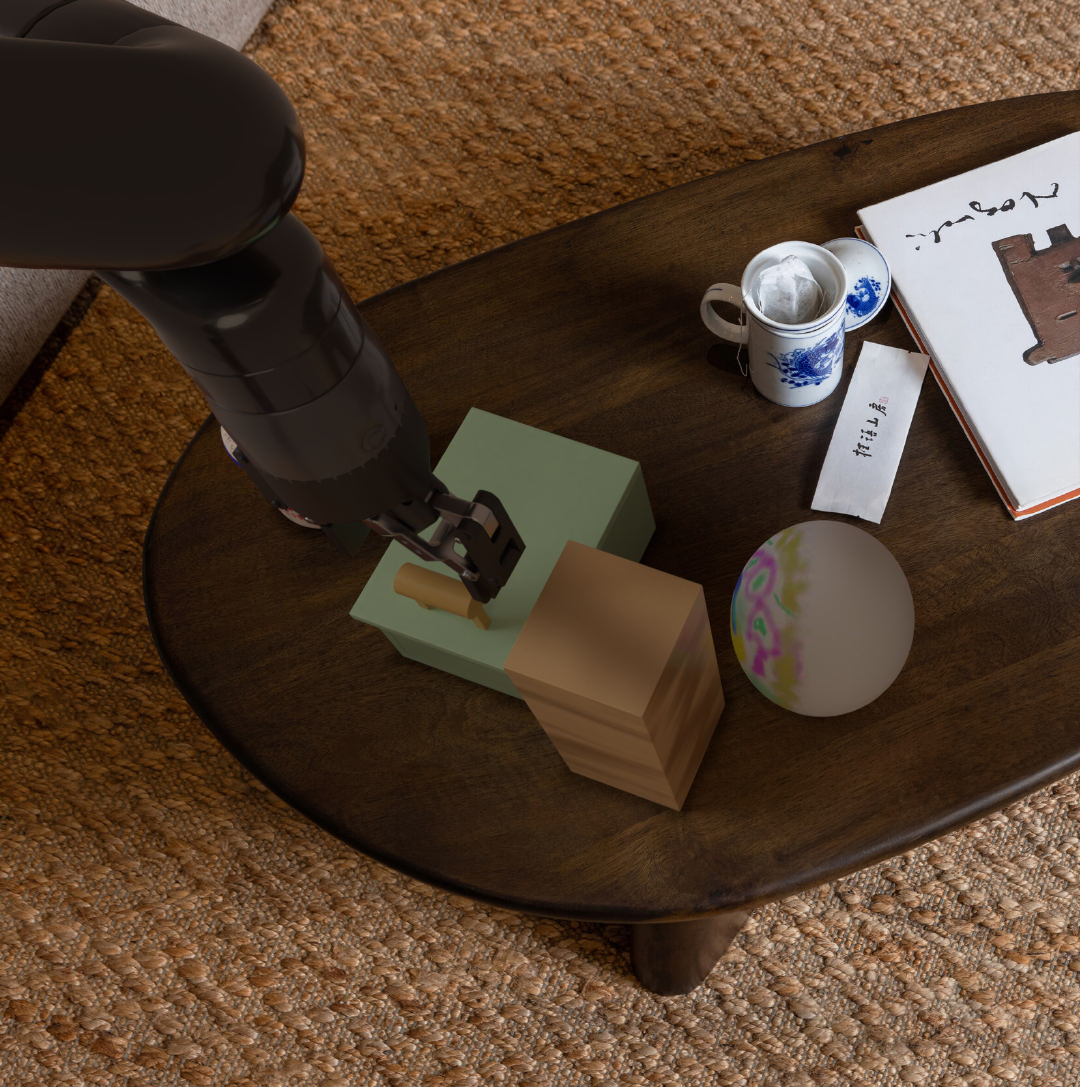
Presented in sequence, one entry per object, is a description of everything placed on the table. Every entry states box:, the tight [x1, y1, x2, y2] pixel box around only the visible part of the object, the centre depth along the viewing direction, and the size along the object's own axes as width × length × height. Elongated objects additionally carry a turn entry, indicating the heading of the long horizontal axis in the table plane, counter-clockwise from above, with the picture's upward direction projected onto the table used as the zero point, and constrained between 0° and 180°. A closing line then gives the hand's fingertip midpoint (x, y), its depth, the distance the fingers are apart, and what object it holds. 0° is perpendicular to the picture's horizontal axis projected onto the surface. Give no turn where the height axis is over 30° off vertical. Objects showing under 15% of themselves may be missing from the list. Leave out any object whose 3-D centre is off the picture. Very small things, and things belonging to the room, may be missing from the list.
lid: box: [349, 406, 642, 674], centre depth 75 cm, size 16×13×5 cm
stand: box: [503, 540, 726, 812], centre depth 72 cm, size 8×8×20 cm
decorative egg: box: [729, 519, 916, 718], centre depth 77 cm, size 12×12×15 cm
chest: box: [379, 468, 657, 701], centre depth 81 cm, size 16×13×9 cm
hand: (422, 564), depth 67 cm, fingers open, 8 cm apart
